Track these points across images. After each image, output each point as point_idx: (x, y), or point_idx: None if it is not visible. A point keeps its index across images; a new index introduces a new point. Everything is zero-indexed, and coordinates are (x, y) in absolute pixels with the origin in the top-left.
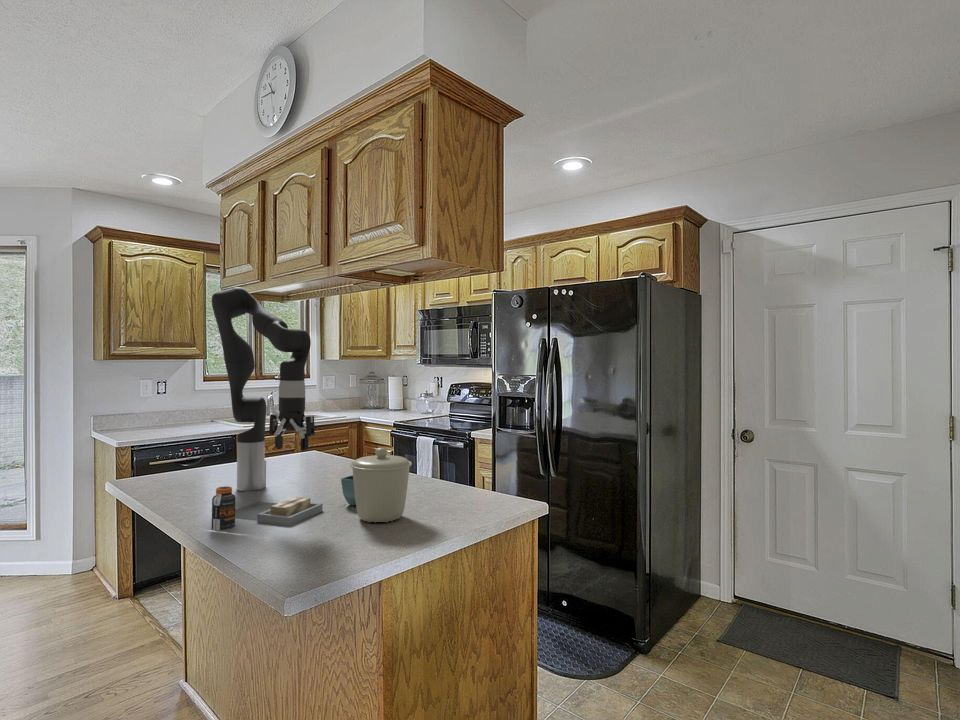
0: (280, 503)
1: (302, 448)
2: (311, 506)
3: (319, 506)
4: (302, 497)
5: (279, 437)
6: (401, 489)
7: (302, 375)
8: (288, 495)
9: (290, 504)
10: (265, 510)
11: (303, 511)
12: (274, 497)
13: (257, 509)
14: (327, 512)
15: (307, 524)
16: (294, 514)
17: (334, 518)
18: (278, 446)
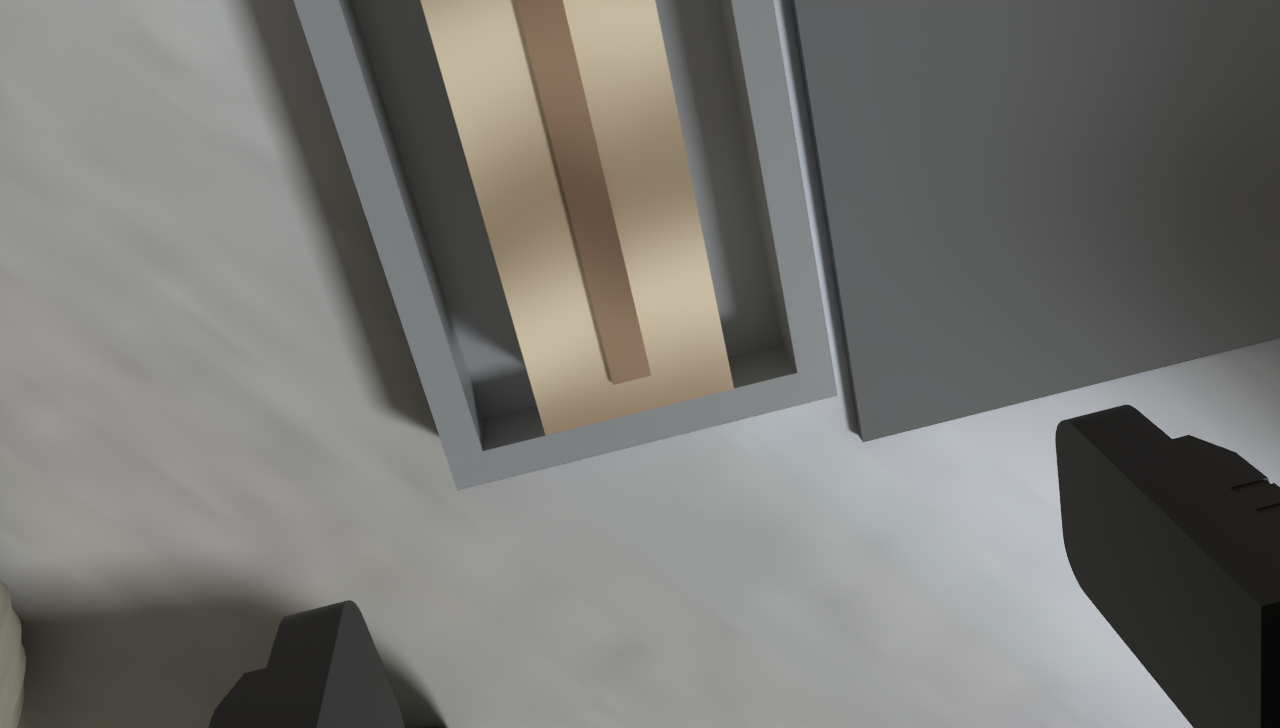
0: (644, 70)
1: (274, 644)
2: None
3: (440, 433)
4: (646, 403)
5: (1247, 653)
6: None
7: None
8: None
9: (497, 108)
10: (986, 146)
11: (366, 174)
12: None
13: (1091, 123)
14: (416, 471)
15: (210, 71)
16: (340, 25)
17: (176, 373)
18: (1091, 457)
